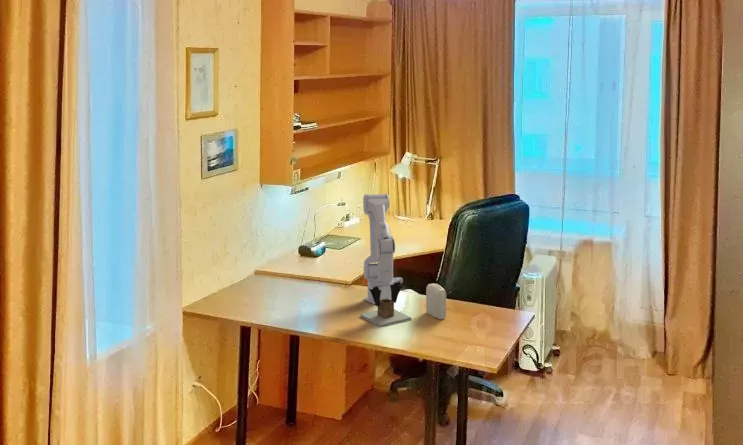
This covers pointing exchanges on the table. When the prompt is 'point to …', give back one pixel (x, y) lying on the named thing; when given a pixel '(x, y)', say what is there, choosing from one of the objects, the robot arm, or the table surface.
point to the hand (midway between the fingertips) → (385, 303)
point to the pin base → (381, 321)
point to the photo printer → (436, 301)
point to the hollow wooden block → (386, 308)
